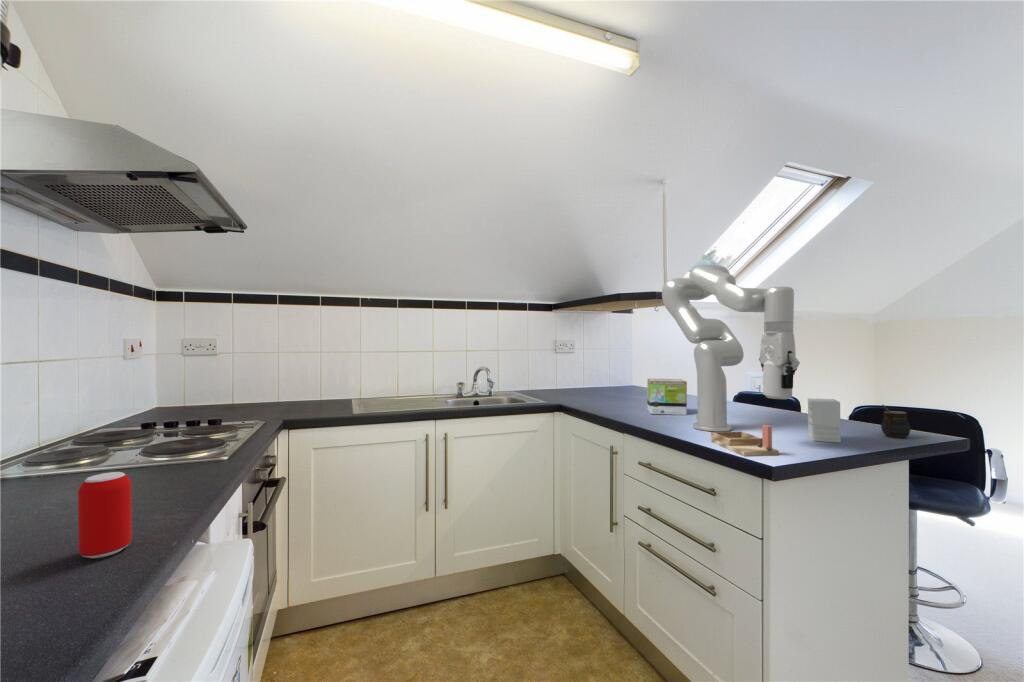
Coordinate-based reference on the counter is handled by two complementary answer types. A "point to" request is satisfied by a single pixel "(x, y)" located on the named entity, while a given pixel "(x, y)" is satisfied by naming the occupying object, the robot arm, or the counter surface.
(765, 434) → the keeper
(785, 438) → the counter surface
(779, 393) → the can
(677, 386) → the tea box
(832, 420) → the supplement box
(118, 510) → the beverage can
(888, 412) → the mate gourd
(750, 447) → the base
